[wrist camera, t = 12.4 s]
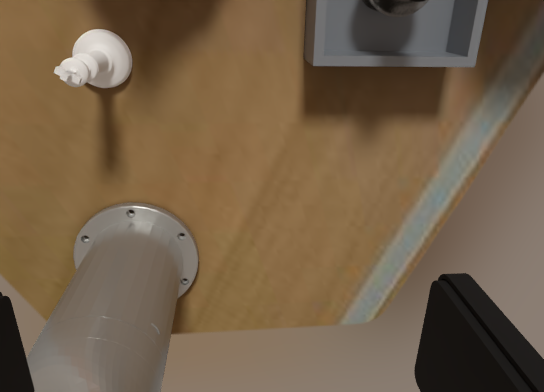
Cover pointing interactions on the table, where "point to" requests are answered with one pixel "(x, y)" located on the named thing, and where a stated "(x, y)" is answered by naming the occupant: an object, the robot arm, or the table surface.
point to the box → (393, 34)
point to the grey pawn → (395, 6)
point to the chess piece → (97, 61)
